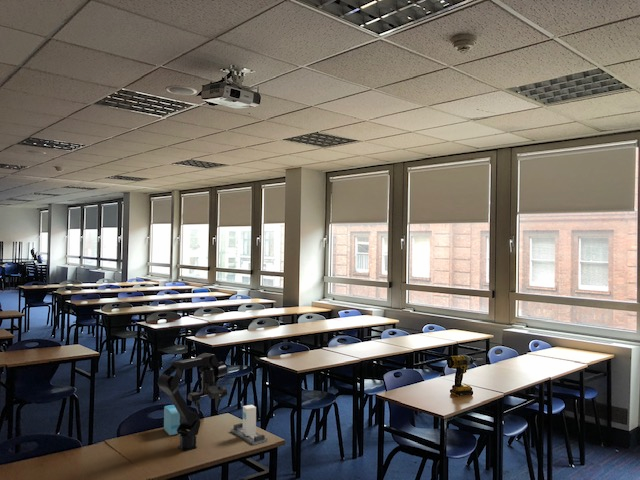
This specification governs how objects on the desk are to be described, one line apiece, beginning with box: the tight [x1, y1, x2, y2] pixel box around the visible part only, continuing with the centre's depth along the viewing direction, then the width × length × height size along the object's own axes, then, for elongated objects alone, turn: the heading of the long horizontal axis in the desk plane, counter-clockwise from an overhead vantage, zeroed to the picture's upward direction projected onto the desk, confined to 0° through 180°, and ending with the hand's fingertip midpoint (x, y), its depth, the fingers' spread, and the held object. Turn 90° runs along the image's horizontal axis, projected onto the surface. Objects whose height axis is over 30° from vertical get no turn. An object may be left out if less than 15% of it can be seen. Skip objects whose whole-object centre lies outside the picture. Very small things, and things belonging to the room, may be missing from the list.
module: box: [242, 404, 257, 436], centre depth 243 cm, size 5×5×13 cm
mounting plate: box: [230, 422, 269, 446], centre depth 243 cm, size 8×22×3 cm, turn 39°
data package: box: [163, 404, 181, 436], centre depth 248 cm, size 12×4×12 cm, turn 32°
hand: (207, 411), depth 239 cm, fingers open, 9 cm apart
